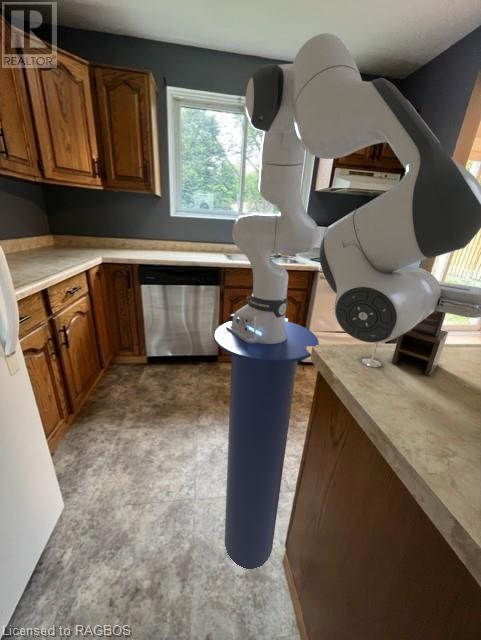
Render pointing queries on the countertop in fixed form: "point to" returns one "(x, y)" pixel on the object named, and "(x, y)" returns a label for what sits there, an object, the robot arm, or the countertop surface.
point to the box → (431, 323)
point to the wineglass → (370, 361)
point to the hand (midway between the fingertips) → (427, 284)
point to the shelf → (420, 347)
